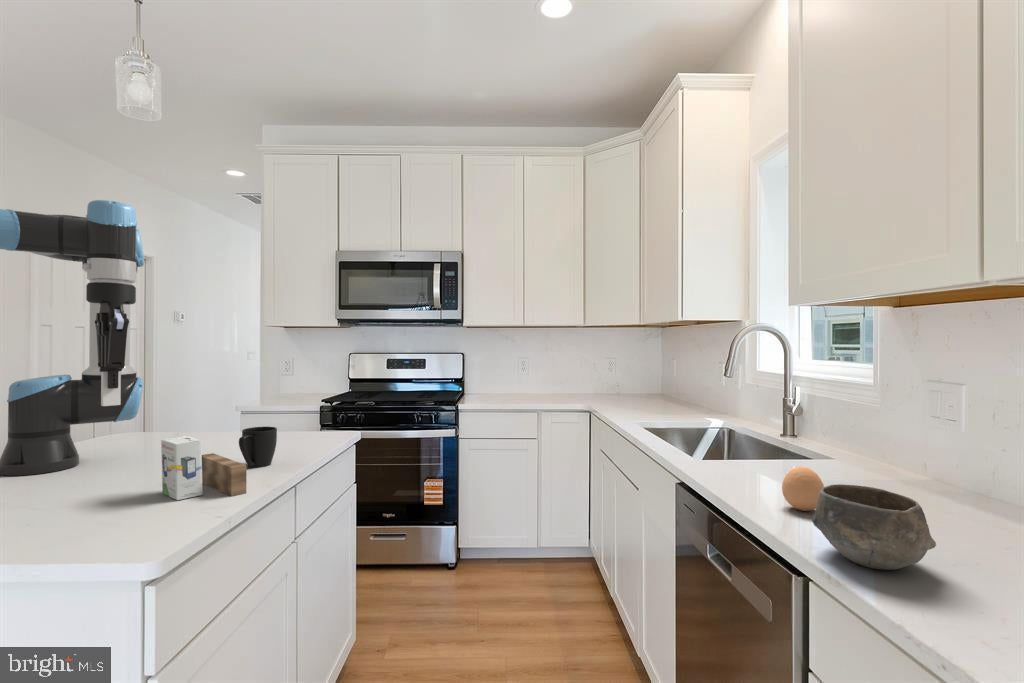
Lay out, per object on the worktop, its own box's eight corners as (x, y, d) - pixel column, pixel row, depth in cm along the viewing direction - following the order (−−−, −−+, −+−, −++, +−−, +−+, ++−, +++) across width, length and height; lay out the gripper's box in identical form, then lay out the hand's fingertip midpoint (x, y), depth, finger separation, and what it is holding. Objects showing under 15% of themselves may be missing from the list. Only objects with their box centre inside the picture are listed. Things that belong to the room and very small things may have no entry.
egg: (778, 511, 99) (778, 467, 99) (785, 501, 105) (785, 460, 105) (822, 519, 95) (822, 473, 95) (826, 509, 101) (827, 466, 101)
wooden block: (198, 481, 118) (198, 455, 118) (212, 478, 120) (213, 453, 120) (231, 496, 107) (231, 467, 107) (246, 493, 109) (246, 465, 109)
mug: (224, 472, 126) (224, 433, 126) (254, 461, 138) (255, 426, 138) (255, 473, 125) (255, 434, 125) (283, 462, 137) (283, 426, 137)
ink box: (203, 495, 107) (203, 439, 107) (175, 501, 103) (175, 443, 103) (186, 488, 112) (187, 435, 112) (159, 493, 108) (160, 438, 108)
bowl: (856, 584, 69) (856, 510, 69) (793, 540, 85) (793, 480, 85) (958, 584, 69) (958, 511, 69) (876, 540, 85) (877, 480, 85)
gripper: (78, 283, 99) (77, 404, 99) (95, 278, 91) (94, 410, 91) (125, 286, 105) (124, 400, 105) (145, 282, 97) (144, 406, 97)
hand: (110, 405), depth 98 cm, fingers closed
